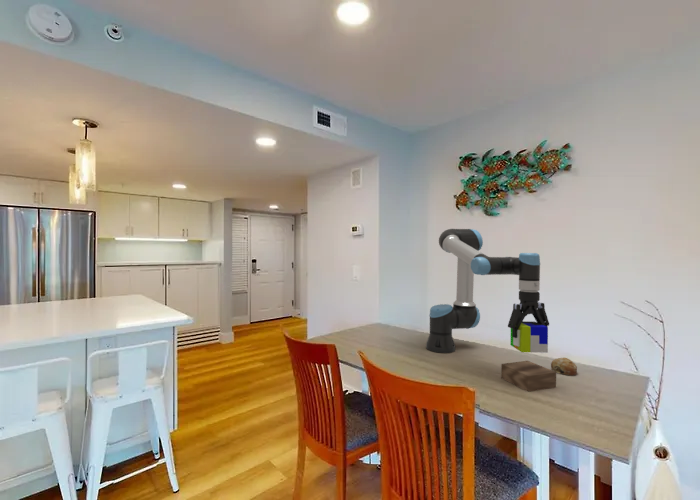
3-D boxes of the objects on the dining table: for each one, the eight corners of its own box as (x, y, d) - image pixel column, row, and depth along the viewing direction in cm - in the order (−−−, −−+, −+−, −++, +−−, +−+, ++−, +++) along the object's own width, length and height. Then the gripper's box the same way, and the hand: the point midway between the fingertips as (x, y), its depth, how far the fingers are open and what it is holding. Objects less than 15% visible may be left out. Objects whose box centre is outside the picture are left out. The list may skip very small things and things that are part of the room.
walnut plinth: (501, 378, 143) (501, 363, 143) (527, 374, 148) (527, 360, 148) (528, 391, 130) (528, 375, 130) (556, 387, 134) (556, 372, 134)
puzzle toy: (547, 352, 133) (547, 327, 133) (521, 352, 134) (522, 326, 134) (534, 345, 143) (534, 321, 143) (510, 345, 144) (510, 321, 144)
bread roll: (549, 378, 153) (547, 364, 150) (554, 363, 160) (552, 349, 157) (575, 384, 146) (574, 370, 143) (579, 369, 153) (578, 354, 150)
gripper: (512, 293, 131) (512, 349, 131) (559, 291, 138) (559, 344, 139) (498, 290, 138) (497, 344, 138) (544, 288, 146) (543, 339, 146)
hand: (528, 344), depth 138 cm, fingers closed on puzzle toy, 12 cm apart
